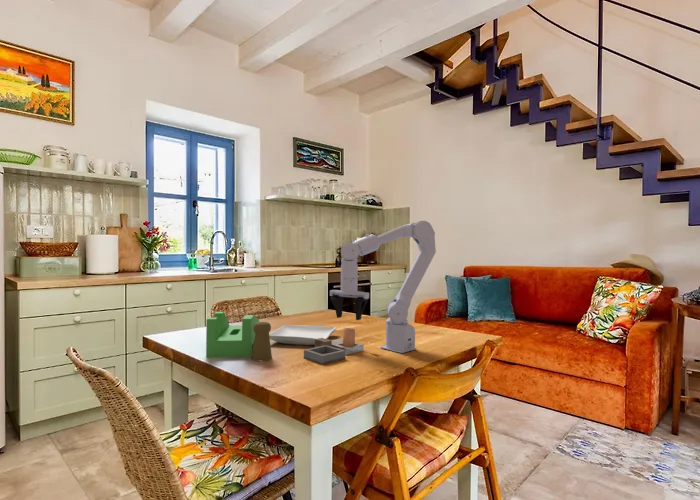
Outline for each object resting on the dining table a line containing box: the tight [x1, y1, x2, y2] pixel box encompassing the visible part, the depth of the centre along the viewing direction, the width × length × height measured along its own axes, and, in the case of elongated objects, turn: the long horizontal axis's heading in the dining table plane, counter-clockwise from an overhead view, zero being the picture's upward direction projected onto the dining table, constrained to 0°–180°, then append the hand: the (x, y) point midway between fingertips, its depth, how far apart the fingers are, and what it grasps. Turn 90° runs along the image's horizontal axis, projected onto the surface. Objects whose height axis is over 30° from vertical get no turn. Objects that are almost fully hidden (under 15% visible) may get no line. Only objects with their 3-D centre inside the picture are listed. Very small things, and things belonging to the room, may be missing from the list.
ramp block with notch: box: [205, 311, 260, 358], centre depth 135 cm, size 24×13×12 cm, turn 7°
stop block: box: [314, 338, 333, 348], centre depth 132 cm, size 5×3×4 cm, turn 44°
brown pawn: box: [251, 321, 273, 362], centre depth 122 cm, size 6×6×11 cm
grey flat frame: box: [331, 338, 365, 356], centre depth 134 cm, size 12×8×2 cm
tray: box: [303, 345, 346, 365], centre depth 123 cm, size 9×9×2 cm
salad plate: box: [269, 324, 337, 346], centre depth 147 cm, size 21×21×3 cm
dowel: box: [342, 327, 356, 347], centre depth 132 cm, size 4×4×7 cm
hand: (348, 318), depth 136 cm, fingers open, 7 cm apart
